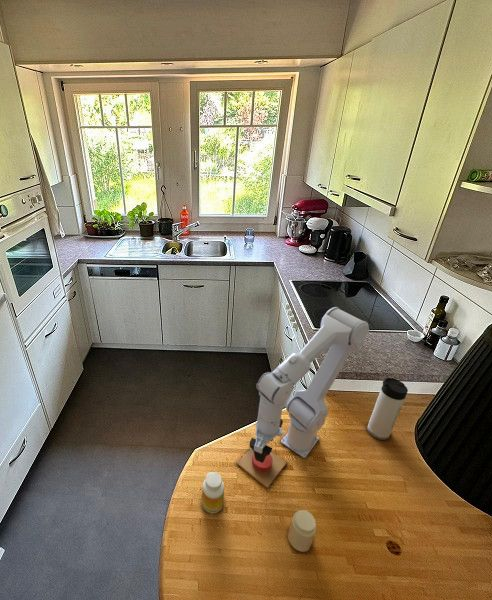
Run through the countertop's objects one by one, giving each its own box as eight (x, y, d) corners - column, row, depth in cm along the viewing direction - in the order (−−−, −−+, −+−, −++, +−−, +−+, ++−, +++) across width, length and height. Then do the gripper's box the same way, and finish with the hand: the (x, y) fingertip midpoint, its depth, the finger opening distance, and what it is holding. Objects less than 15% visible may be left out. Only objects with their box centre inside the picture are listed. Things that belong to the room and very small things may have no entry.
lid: (247, 459, 93) (247, 454, 92) (262, 450, 95) (263, 446, 95) (260, 475, 88) (261, 471, 88) (276, 466, 91) (277, 461, 90)
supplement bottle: (221, 516, 80) (223, 492, 75) (200, 511, 81) (200, 487, 76) (224, 494, 84) (226, 471, 80) (203, 490, 85) (204, 467, 81)
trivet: (257, 442, 98) (257, 441, 98) (286, 463, 92) (286, 462, 92) (237, 464, 92) (237, 463, 92) (267, 488, 86) (267, 487, 86)
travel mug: (363, 422, 105) (379, 375, 96) (384, 424, 104) (403, 377, 95) (369, 438, 100) (388, 390, 90) (392, 441, 99) (413, 392, 89)
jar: (294, 521, 79) (299, 503, 75) (315, 538, 75) (321, 519, 72) (284, 539, 75) (288, 520, 72) (304, 557, 72) (311, 538, 68)
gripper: (276, 442, 75) (269, 478, 82) (292, 401, 86) (285, 436, 93) (248, 429, 79) (243, 465, 85) (267, 392, 90) (262, 426, 96)
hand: (264, 449), depth 89 cm, fingers open, 7 cm apart
